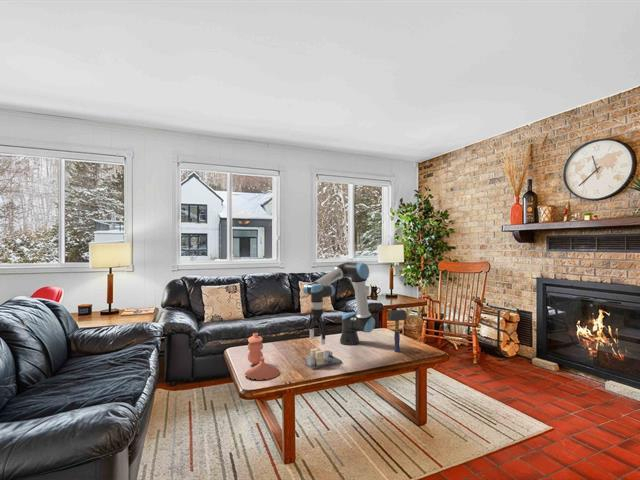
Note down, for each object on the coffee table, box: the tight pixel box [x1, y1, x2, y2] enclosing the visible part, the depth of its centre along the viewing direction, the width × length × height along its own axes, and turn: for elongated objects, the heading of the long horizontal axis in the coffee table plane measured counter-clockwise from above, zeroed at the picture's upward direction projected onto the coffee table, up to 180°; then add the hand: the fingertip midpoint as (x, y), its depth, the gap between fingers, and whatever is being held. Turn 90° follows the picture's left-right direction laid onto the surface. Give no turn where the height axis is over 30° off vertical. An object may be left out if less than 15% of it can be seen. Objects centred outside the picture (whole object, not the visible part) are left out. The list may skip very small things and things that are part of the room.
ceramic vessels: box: [244, 332, 281, 381], centre depth 215 cm, size 35×21×19 cm, turn 23°
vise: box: [304, 353, 343, 370], centre depth 224 cm, size 10×22×7 cm, turn 122°
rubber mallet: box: [387, 309, 408, 353], centre depth 247 cm, size 12×8×30 cm, turn 104°
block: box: [310, 347, 325, 366], centre depth 221 cm, size 8×5×8 cm, turn 32°
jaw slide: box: [323, 350, 335, 362], centre depth 224 cm, size 8×3×6 cm, turn 32°
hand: (317, 341), depth 221 cm, fingers open, 13 cm apart
